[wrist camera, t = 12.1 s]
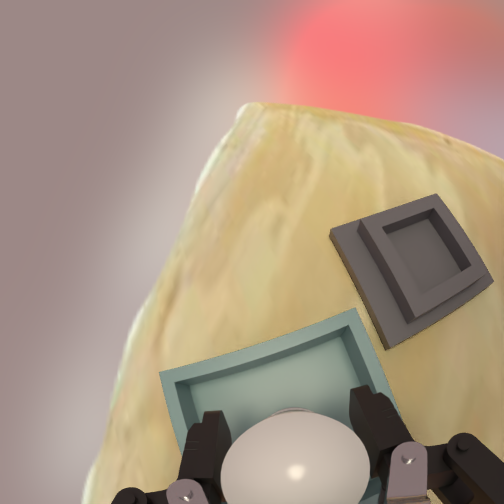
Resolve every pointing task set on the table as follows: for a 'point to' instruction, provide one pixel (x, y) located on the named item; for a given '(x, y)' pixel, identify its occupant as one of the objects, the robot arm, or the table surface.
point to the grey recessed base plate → (410, 266)
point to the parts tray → (280, 380)
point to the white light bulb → (296, 462)
